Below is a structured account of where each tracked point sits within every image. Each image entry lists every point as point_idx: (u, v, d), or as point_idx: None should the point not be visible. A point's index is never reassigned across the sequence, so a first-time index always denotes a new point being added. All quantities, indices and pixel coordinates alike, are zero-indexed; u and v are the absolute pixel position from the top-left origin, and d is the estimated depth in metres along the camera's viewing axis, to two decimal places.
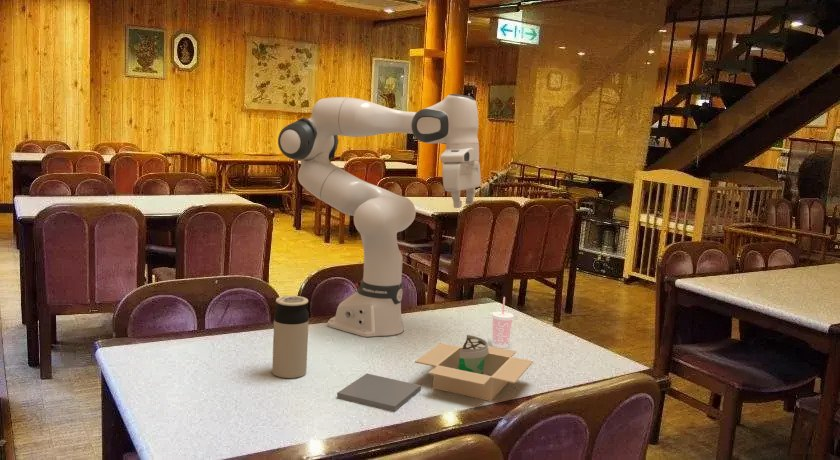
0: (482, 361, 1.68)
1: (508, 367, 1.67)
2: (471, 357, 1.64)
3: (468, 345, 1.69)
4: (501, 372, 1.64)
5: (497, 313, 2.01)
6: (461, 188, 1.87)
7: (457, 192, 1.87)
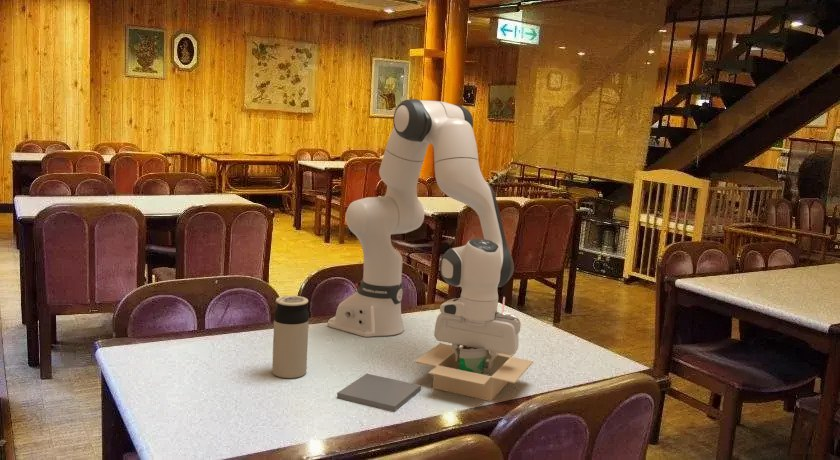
0: (482, 361, 1.68)
1: (508, 367, 1.67)
2: (471, 357, 1.64)
3: None
4: (501, 372, 1.64)
5: None
6: (448, 340, 1.70)
7: None
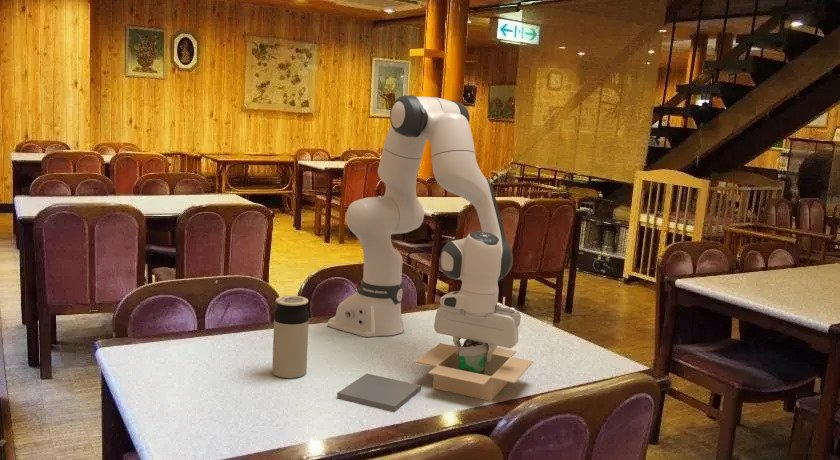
0: (483, 358, 1.68)
1: (508, 367, 1.67)
2: (471, 354, 1.64)
3: (468, 342, 1.69)
4: (501, 372, 1.64)
5: None
6: (448, 333, 1.70)
7: None
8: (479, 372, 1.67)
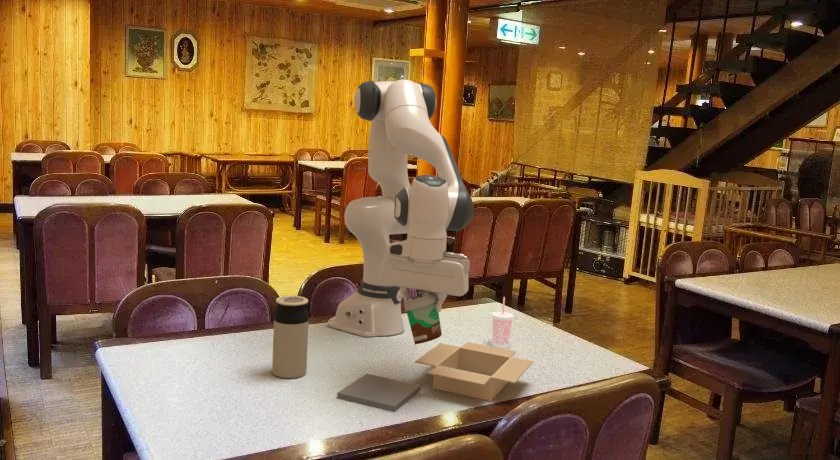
0: (433, 310, 1.59)
1: (508, 367, 1.67)
2: (417, 307, 1.56)
3: (415, 298, 1.61)
4: (501, 372, 1.64)
5: (497, 313, 2.01)
6: (395, 284, 1.61)
7: None
8: (432, 325, 1.58)
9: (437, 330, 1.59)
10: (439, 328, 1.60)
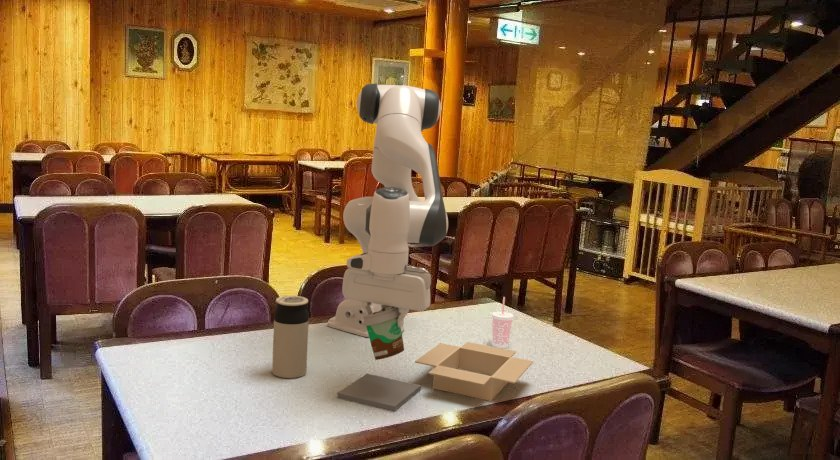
0: (394, 324, 1.55)
1: (508, 367, 1.67)
2: (377, 322, 1.52)
3: (377, 312, 1.58)
4: (501, 372, 1.64)
5: (497, 313, 2.01)
6: (356, 298, 1.58)
7: None
8: (393, 340, 1.55)
9: (398, 345, 1.56)
10: (401, 343, 1.57)
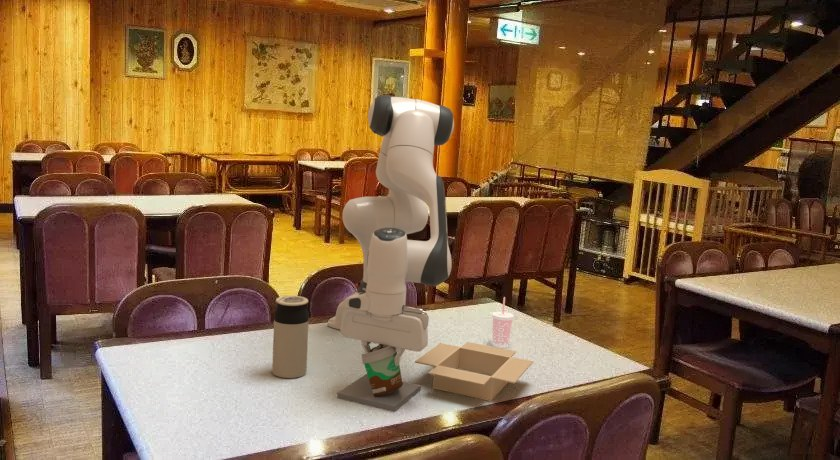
0: (392, 361, 1.56)
1: (508, 367, 1.67)
2: (375, 359, 1.54)
3: (375, 349, 1.59)
4: (501, 372, 1.64)
5: (497, 313, 2.01)
6: (354, 337, 1.59)
7: None
8: (391, 377, 1.56)
9: (397, 381, 1.57)
10: (399, 379, 1.58)
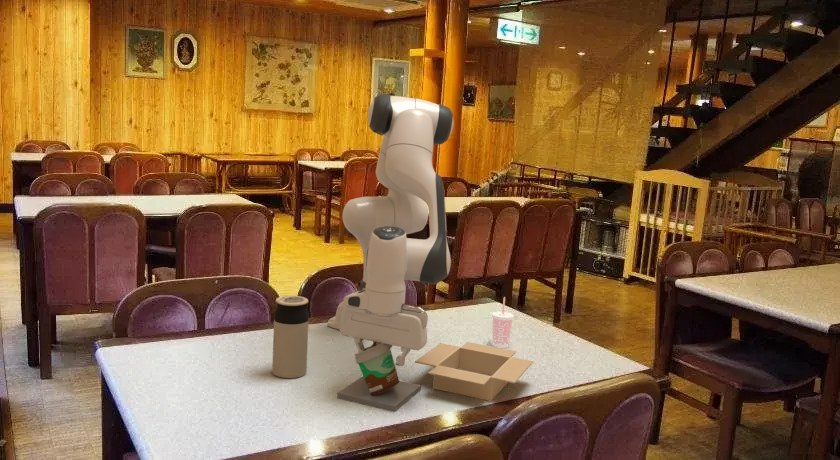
0: (386, 358, 1.57)
1: (508, 367, 1.67)
2: (368, 358, 1.54)
3: (368, 348, 1.59)
4: (501, 372, 1.64)
5: (497, 313, 2.01)
6: (353, 335, 1.59)
7: None
8: (387, 374, 1.56)
9: (393, 378, 1.58)
10: (395, 376, 1.59)
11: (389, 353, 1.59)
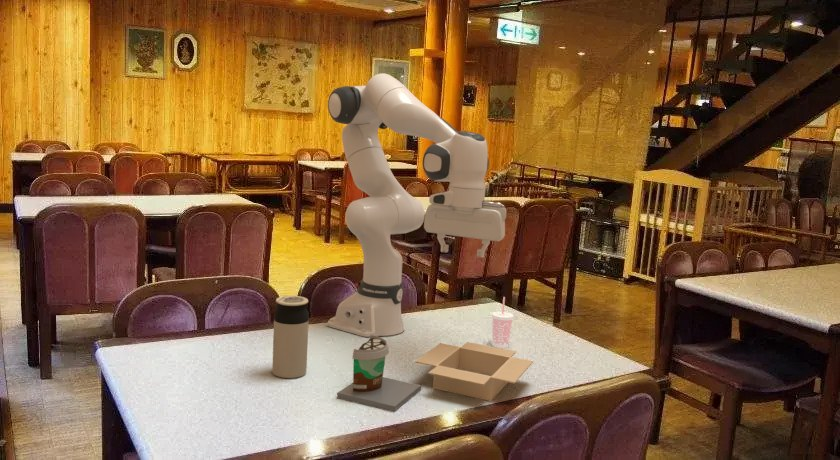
0: (380, 362, 1.59)
1: (508, 367, 1.67)
2: (365, 358, 1.55)
3: (366, 345, 1.60)
4: (501, 372, 1.64)
5: (497, 313, 2.01)
6: (437, 231, 1.77)
7: None
8: (375, 377, 1.58)
9: (378, 382, 1.60)
10: (380, 380, 1.61)
11: (384, 358, 1.60)
